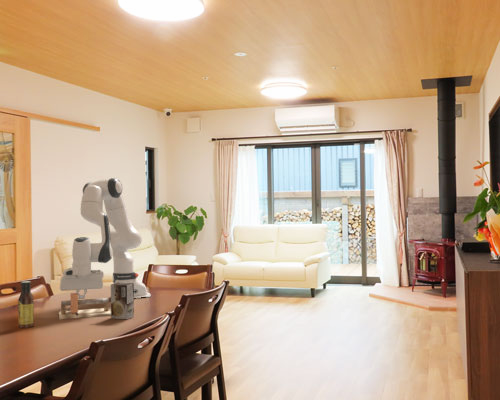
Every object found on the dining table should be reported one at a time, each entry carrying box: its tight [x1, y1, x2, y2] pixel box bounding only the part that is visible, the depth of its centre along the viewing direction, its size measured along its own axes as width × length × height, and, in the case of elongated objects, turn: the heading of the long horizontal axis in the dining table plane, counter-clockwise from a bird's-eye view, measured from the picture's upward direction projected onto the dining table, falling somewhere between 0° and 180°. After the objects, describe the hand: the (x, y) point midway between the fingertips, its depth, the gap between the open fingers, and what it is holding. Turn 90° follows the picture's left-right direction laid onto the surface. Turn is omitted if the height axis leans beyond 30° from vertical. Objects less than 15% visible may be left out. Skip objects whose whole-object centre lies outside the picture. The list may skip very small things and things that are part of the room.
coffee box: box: [110, 283, 135, 320], centre depth 252 cm, size 9×6×16 cm
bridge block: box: [70, 292, 79, 313], centre depth 258 cm, size 3×8×8 cm, turn 21°
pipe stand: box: [58, 297, 111, 320], centre depth 260 cm, size 24×14×7 cm, turn 111°
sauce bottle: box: [17, 280, 35, 329], centre depth 234 cm, size 7×6×20 cm
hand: (81, 298), depth 262 cm, fingers closed
